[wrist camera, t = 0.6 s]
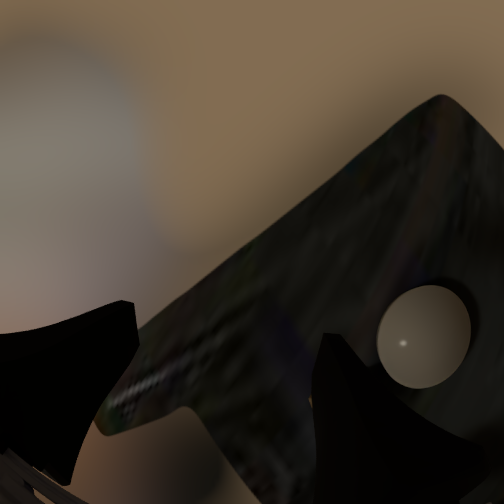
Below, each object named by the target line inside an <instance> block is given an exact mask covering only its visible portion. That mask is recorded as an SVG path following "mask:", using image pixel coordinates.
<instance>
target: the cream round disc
mask: <svg viewBox="0 0 504 504" xmlns="http://www.w3.org/2000/svg"><path fill="white" fill-rule="evenodd" d="M470 336H471V324H470V318H469V314H468V312H467V309H466V307H465V305H464V304H463V302H462V301H461V299H460V298H459V297H458V296H457V295H456V294H455V293H453V292H452V291H450V290H448V289H446V288H444V287H441V286H435V285H427V286H421V287H417V288H414V289H411V290H409V291H406V292H404V293H403V294H401V295H399V296H398V297H397V298H396V299H395V300H394V301H393V302H392V303H391V304H390V305H389V306H388V307H387V309H386V310H385V312H384V313H383V315H382V318H381V320H380V322H379V325H378V330H377V336H376V346H377V352H378V355H379V358H380V361H381V363H382V364H383V366H384V368H385V369H386V371H387V373H388V374H389V375H390V376H391V377H392V378H393V379H394V380H395V381H397V382H398V383H400V384H402V385H404V386H406V387H410V388H427V387H431V386H434V385H436V384H439V383H441V382H442V381H444V380H445V379H447V378H448V377H449V376H450V375H452V374H453V373H454V372H455V370H456V369H457V368H458V367H459V365H460V364H461V362H462V361H463V359H464V357H465V355H466V353H467V350H468V347H469V343H470Z"/></svg>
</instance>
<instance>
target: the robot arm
mask: <svg viewBox="0 0 504 504" xmlns="http://www.w3.org/2000/svg"><path fill="white" fill-rule="evenodd" d="M139 345H140V343H139V337H138V330H137V323H136V315H135V307H134V303H132V302H128V301H123V300H120V301H116V302H113V303H110V304H107V305H104V306H102V307H99V308H97V309H94V310H91V311H89V312H86V313H84V314H81V315H79V316H76V317H73V318H70V319H67V320H64V321H61V322H59V323H56V324H52V325H49V326H46V327H42V328H37V329H34V330H29V331H22V332H15V333H8V334H0V504H45V503H43V502H42V501H41V500H39V499H38V498H37V497H36V496H35V495H34V490H33V488H34V489H35V490H37V491H38V492H40V493H41V494H42V495H44V496H45V497H46V498H48V499H49V500H51V501H52V502H53V503H55V504H88V503H87V502H85V501H83V500H81V499H79V498H78V497H76V496H74V495H72V494H71V493H69V492H68V491H66V490H64V489H63V488H61V487H60V486H58V485H57V484H55V483H54V482H52V481H51V480H49V479H48V478H46V477H45V476H44V475H42V474H41V473H39V472H38V471H40V472H42V473H44V474H45V475H47V476H48V477H49V478H51V479H52V480H54V481H55V482H57V483H58V484H60V485H62V486H67V485H70V483H71V478H72V475H73V471H74V467H75V463H76V460H77V457H78V455H79V452H80V449H81V446H82V443H83V441H84V439H85V436H86V434H87V432H88V430H89V427H90V425H91V423H92V421H93V419H94V417H95V415H96V413H97V411H98V409H99V408H100V406H101V404H102V403H103V401H104V400H105V398H106V397H107V395H108V394H109V393H110V391H111V390H112V388H113V387H114V386H115V384H116V383H117V381H118V380H119V379H120V377H121V376H122V374H123V373H124V372H125V370H126V369H127V367H128V366H129V364H130V363H131V361H132V359H133V357H134V355H135V353H136V351H137V349H138V347H139ZM311 398H312V409H313V419H314V428H315V439H316V476H315V488H314V499H313V504H459V500H460V499H461V498H463V497H464V496H465V495H467V494H468V493H469V492H471V491H472V490H473V489H474V488H476V487H477V486H478V485H479V484H480V483H482V482H483V481H484V480H485V479H486V478H487V476H488V475H489V473H490V471H491V469H492V468H491V466H490V463H489V461H488V458H487V456H486V453H485V451H484V449H483V447H482V446H481V445H478V444H475V443H473V442H470V441H467V440H465V439H462V438H460V437H457V436H455V435H453V434H451V433H449V432H447V431H445V430H444V429H442V428H440V427H438V426H436V425H435V424H433V423H431V422H430V421H428V420H426V419H425V418H424V417H422V416H421V415H419V414H418V413H416V412H415V411H413V410H412V409H411V408H409V407H408V406H407V405H406V404H404V403H403V402H402V401H401V400H400V399H398V398H397V397H396V396H395V395H394V394H393V393H391V392H390V391H389V390H388V389H387V388H386V387H385V386H384V385H383V384H382V383H381V382H380V381H379V380H378V379H377V378H376V377H375V376H374V374H373V373H372V372H371V371H370V370H369V369H368V368H367V367H366V365H365V364H364V363H363V362H362V361H361V360H360V358H359V357H358V356H357V355H356V353H355V352H354V351H353V350H352V349H351V347H350V346H349V345H348V343H347V342H346V341H345V340H344V338H343V337H342V336H341V335H340V334H330V333H323V337H322V341H321V345H320V348H319V352H318V355H317V359H316V362H315V366H314V369H313V373H312V391H311ZM33 467H34V468H36V469H37V470H38V471H37V470H35V469H34V468H33ZM31 486H32V487H33V488H32V487H31ZM486 504H492V503H491V502H488V503H486Z"/></svg>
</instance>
